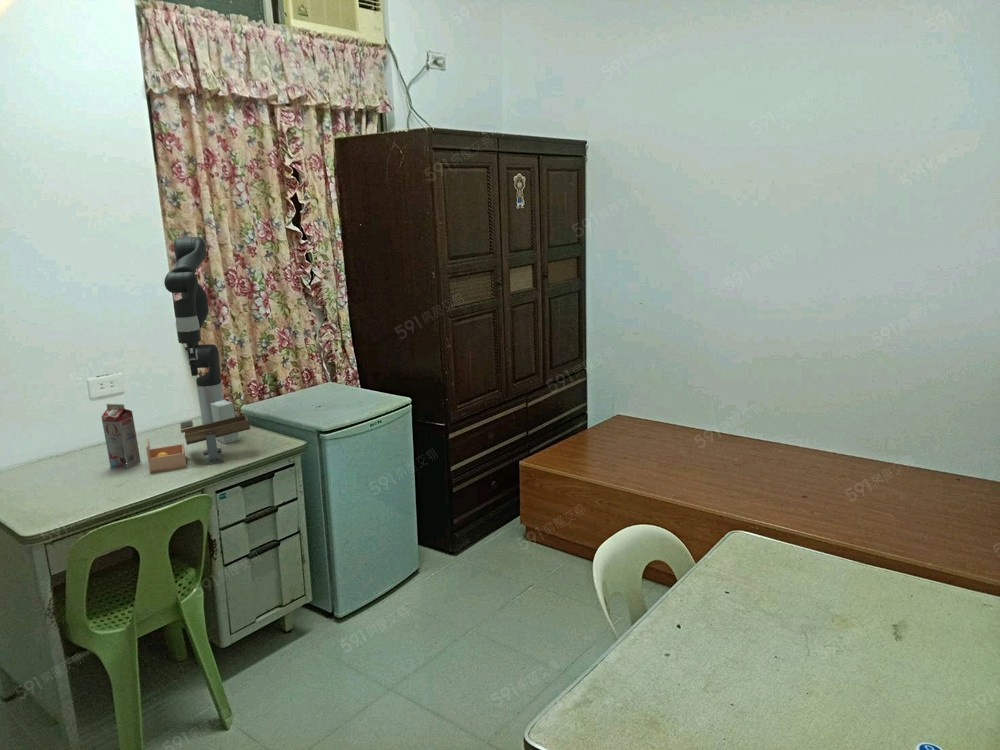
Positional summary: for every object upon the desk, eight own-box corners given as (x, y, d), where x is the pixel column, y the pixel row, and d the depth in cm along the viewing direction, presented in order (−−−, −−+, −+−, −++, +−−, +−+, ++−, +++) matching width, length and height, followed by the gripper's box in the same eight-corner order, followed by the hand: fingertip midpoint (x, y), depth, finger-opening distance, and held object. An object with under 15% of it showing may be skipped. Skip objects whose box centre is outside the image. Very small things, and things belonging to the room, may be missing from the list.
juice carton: (127, 468, 240) (116, 407, 234) (110, 468, 241) (99, 406, 236) (140, 461, 246) (130, 401, 241) (124, 461, 247) (113, 401, 242)
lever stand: (203, 452, 253) (199, 426, 250) (221, 450, 255) (217, 423, 253) (205, 465, 240) (201, 437, 238) (223, 461, 243) (220, 434, 240)
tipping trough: (182, 431, 254) (179, 421, 253) (245, 416, 263) (242, 407, 262) (183, 446, 238) (181, 435, 237) (250, 429, 247) (248, 419, 246)
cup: (150, 462, 244) (146, 438, 242) (185, 457, 249) (182, 433, 247) (150, 473, 235) (146, 447, 232) (186, 467, 239) (182, 442, 237)
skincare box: (239, 440, 265) (234, 402, 262) (224, 444, 261) (218, 406, 257) (230, 435, 271) (225, 398, 267) (214, 439, 267) (209, 402, 263)
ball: (166, 463, 243) (154, 460, 241) (170, 452, 243) (158, 449, 241) (166, 466, 240) (154, 463, 238) (171, 456, 240) (158, 452, 238)
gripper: (176, 327, 253) (182, 370, 257) (177, 333, 241) (183, 378, 245) (198, 325, 256) (204, 368, 260) (200, 330, 244) (206, 375, 248)
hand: (194, 373), depth 253 cm, fingers open, 8 cm apart
